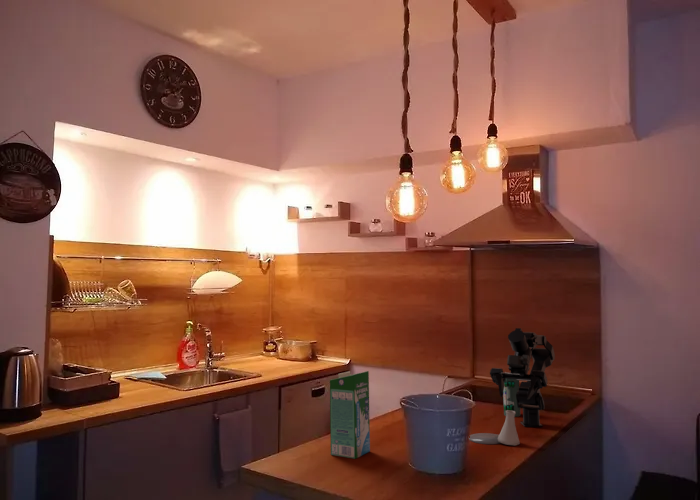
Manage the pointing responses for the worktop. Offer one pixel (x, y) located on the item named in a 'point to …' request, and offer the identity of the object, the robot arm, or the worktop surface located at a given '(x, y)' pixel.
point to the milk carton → (350, 415)
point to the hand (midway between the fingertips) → (514, 397)
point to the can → (511, 396)
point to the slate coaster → (484, 438)
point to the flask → (509, 430)
